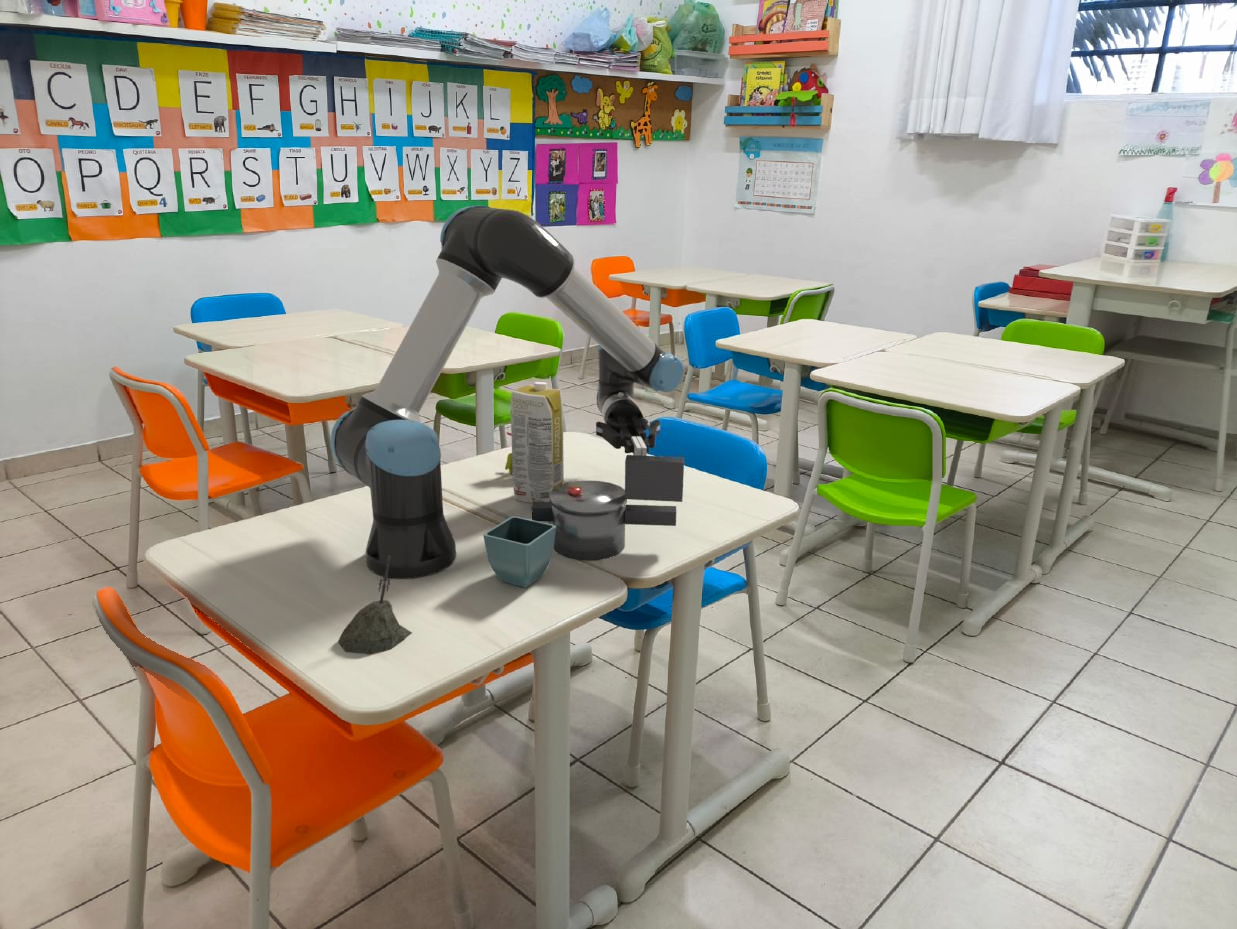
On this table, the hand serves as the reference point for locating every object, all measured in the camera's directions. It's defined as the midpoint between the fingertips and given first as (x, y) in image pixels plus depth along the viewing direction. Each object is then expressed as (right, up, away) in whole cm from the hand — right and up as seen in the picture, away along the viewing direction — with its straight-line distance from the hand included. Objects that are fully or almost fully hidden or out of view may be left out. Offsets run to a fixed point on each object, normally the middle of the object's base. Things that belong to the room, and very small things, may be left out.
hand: (641, 454), depth 156 cm
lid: (-5, -8, -2) cm, 10 cm away
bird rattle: (-25, -4, +35) cm, 43 cm away
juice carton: (-20, -9, +22) cm, 31 cm away
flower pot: (-20, -21, -11) cm, 31 cm away
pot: (-7, -16, +1) cm, 18 cm away
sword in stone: (-39, -27, -29) cm, 56 cm away
